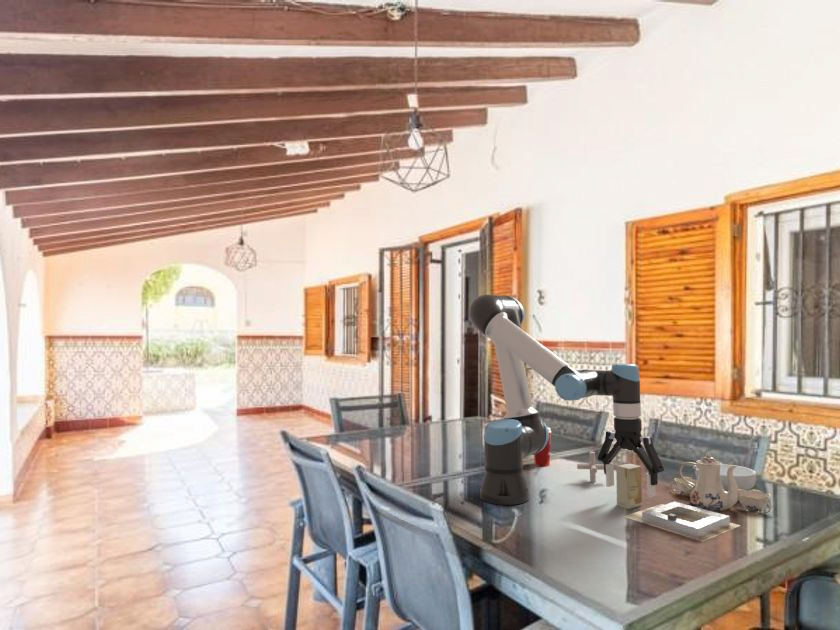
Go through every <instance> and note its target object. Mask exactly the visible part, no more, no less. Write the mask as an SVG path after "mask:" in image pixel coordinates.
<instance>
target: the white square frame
mask: <svg viewBox="0 0 840 630" xmlns="http://www.w3.org/2000/svg"><path fill="white" fill-rule="evenodd" d="M677 516H682V517H685V518H689V519H692V520H696V522H693V523H692V522H689V521H685V520H682V519H678V518H677ZM642 522H645V523H648V524H651V525H654V526H658V527H661V528H664V529H667V530H670V531H674V532H677V533H680V534H683V535H686V536H689V537H693V538H696V539H700V538H702V537H705V536H707V535H709V534H712V533H714V532H717V531H719V530H721V529H724V528H726V527H728V526H730V523H731V519H730V515H726V514H723V513H719V512H717V511H712V510H705V509H701V508H698V507H696V506H694V505H689V504H685V503H682V502H678V501H672V502H669V503H665V504H664V505H662V506H659V507H656V508H653V509H650V510H647V511H644V512H642ZM642 522H641V523H642ZM645 523H644V524H645ZM648 524H647V525H648ZM651 525H650V526H651ZM654 526H653V527H654ZM658 527H657V528H658ZM661 528H660V529H661ZM664 529H663V530H664ZM667 530H666V531H667ZM670 531H669V532H670ZM674 532H673V533H674ZM677 533H676V534H677ZM680 534H679V535H680ZM683 535H682V536H683ZM686 536H685V537H686ZM689 537H688V538H689ZM693 538H692V539H693ZM696 539H695V540H696Z"/></svg>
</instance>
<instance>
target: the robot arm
mask: <svg viewBox="0 0 840 630" xmlns="http://www.w3.org/2000/svg"><path fill="white" fill-rule="evenodd" d="M468 309H469V310H468V317H469V320H470V322H471V324H472V325H473V327H475V329H477V330H478V331H479V332H480V333H481V334H483V335H484V336H485V337H486V338H488V339H490V340H491V341H492V342H493V344H494V346H493V347H494V350H495V356H496V359H497V366H498V371H499V376H500V382H501V387H502V392H503V393H502V394H503V397H504V402H505V408H506V413H505V414H504V416H503V418H501V419H495V420H492V421H490V422H487V424H486V425H485V426H484V435H483V440H484V471H485V472H484V475H483V479H482V482H481V487H480V488H479V499H480V500H482V501H483V500H484V501H483V502H485V501H486V503H488V502H489V503H490V504H492V503H493V505H500V506H509V505H510V506H512V505H520V504H523V503H526V502H528V501H529V499H530V490H529V488H528V485H527V481H526V479H525V476H524V469H523V467H524V465H523V461H524V460H523V459H525V458H526V457H530V456H534V454H536V453H538V452H539V451H541V450H542V449H543V448H544V447H545V446H546V444H547V442H548V439H549V432H548V428H547V427H548V426H547V425H546V423H545V421H543V420H542V419H540V418H541V417H540V414H539V411H538V410H537V409H536V408H534V406H533V403H532V397H531V392H530V387H529V386H530V385H529V381H528V377H527V372H526V367H525V364H526V365H527V366H528V367H529V368H531V369H532V370H533V371H534V372H536V373H537V374H539V376H541V377H542V378H543V379H544V380H546V381H547V382H548V383H549V384H551V385H552V386H554V389H555V392H556V394H557V395H558V397H559V398H561V400H564V401H572V402H573V401H578V400H582V399H584V398H585V399H586V398H588V397H593V396H606V397H607V396H608V397H611V396H612V407H613V408H612V409H613V410H612V412H613V416H614V418H613V429H614V430H607V431H605V438H604V441H603V443H602V445H601V448H600V451H599V453H598V456H597V461H600V462H602V464H604V470H603V473H604V475H605V482H606V485H605V486H606V487H607V488H609V487H613V486H615V472H614V469H615V468H614V463H613V459H615V457H616V456H617V455H618V454H619V452H620V451H621V450H628V451H631V452H632V451H633V453H634V454H636V456H637V457H638V458H639V460H640V461H641V463H642V464H643V465H644V467H645V468H646V470H647V472H646V491H647V498H653V497H656V495H657V492H656V486H657V485H658V483H659V481H658V473H661V472H664V471H665V468H664V466H663V464H662V462H661V459H660V457H659V455H658V452H657V449H656V448H655V447H654V444H653V437H652V436H642V428H643V426H642V419H641V416H642V408H641V407H642V406H641V378H640V369H639V366H638V365H637V364H635V363H614V364H612V365H611V369H610V370H609V369H608V370H602V369H601V370H599V369H597V370H595V369H577V370H576V369H575V368H573V367H572V366H571V365H570V364H569V363H567V362H565V361H564V359H562V358H560V357H559V356H558V355H556V354H555V353H554V352H553V351H551V350H550V349H548V348H547V347H546V346H545V345H543V344H542V343H540V341H538V340H537V339H535V338H534V337H533V336H531V335H530V334H529V333H527V332H526V331H525V330H523V328H522V324H523V322H524V319H525V310H524V307H523V304H521V302H520V301H519V300H518V299H517V298H515V297H514V296H509V295H505V294H502V295H498V294H497V295H495V294H482V295H479V296H478V297H476V298H474V299H473V301H472V302H471V303H470V306H469V308H468ZM614 431H615V432H614ZM614 440H616V441H615V442H614ZM613 443H614V444H613ZM612 444H613V447H612ZM611 447H612V448H611Z"/></svg>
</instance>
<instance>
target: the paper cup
mask: <svg viewBox="0 0 840 630" xmlns="http://www.w3.org/2000/svg"><path fill="white" fill-rule="evenodd" d="M547 428H548V432H549V439H548V442H547V444H546V446H545V447H544V448H543V449H542V450H541V451H539V452H538V453H536V454H534V455H533V457H534V459H533V460H534V466H537V465H538V466H537V467H549V466H550V462H551V443H552V442H551V437H552V435H551V434H552V430H551V427H548V426H547ZM548 465H549V466H548Z"/></svg>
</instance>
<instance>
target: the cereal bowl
mask: <svg viewBox="0 0 840 630" xmlns="http://www.w3.org/2000/svg"><path fill="white" fill-rule="evenodd" d="M731 466H736V468H735V469H734V470H733V475H734V478H735V481H736V484H737V486H738V489H744V490H747V491H750V490H752V488H753V487H754V486H755V484H756V482H757V471H755V470H754V469H752V468H749V467H746V466H742V465H741V466H740V465H736V464H727V463H722V464H721V467H720V479H721V483H722V486H723V488H724V490H725V491H727V492H728V491H729V484H728V478H727V470H728V468H729V467H731ZM694 474H695V477H696V479H698V476H699V469H698V468H697V469H694Z"/></svg>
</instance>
